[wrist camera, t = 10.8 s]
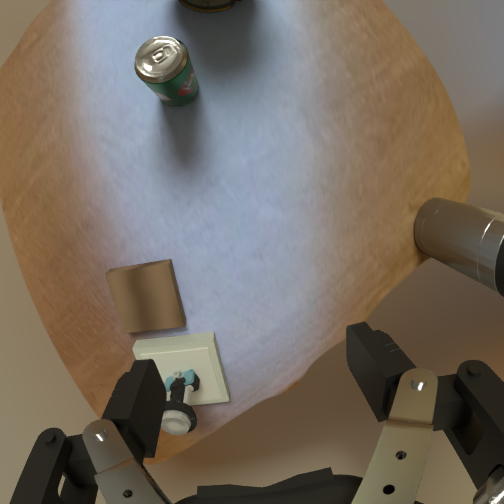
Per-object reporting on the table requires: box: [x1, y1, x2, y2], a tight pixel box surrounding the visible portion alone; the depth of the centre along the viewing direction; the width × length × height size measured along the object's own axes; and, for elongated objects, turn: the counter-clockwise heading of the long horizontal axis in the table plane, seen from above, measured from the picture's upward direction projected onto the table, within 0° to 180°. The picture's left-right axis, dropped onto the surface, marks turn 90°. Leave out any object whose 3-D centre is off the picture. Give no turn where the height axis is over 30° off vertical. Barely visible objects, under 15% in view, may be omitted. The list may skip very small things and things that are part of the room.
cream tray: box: [133, 331, 229, 405], centre depth 41 cm, size 12×12×3 cm
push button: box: [161, 369, 200, 435], centre depth 35 cm, size 7×5×10 cm
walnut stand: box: [106, 259, 186, 333], centre depth 38 cm, size 9×9×2 cm
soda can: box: [135, 36, 198, 106], centre depth 26 cm, size 5×5×12 cm
